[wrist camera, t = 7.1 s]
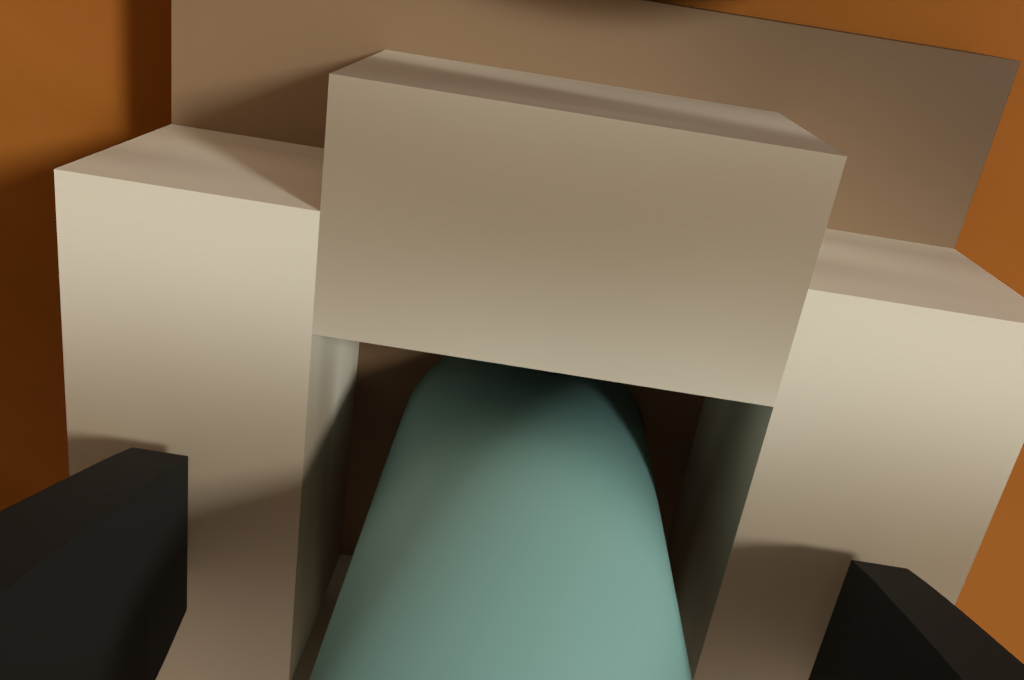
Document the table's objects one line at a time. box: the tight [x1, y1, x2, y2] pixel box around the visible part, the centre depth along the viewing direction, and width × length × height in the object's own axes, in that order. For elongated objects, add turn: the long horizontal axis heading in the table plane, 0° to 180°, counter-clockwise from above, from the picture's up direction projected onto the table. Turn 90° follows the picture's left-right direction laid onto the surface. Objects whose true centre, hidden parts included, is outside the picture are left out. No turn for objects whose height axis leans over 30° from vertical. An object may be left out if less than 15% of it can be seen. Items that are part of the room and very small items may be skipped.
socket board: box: [54, 0, 1024, 680], centre depth 12 cm, size 12×10×4 cm
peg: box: [309, 356, 692, 680], centre depth 9 cm, size 4×4×7 cm
